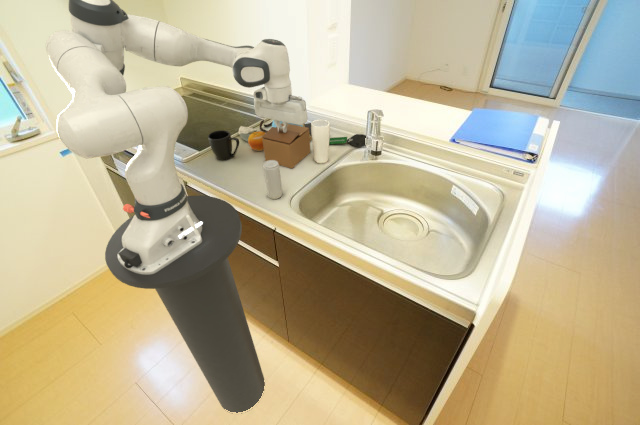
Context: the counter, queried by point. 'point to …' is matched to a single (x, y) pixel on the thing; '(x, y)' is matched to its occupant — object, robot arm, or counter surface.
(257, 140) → the fruit
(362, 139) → the rock
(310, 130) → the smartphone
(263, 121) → the brown curved piece
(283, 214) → the counter surface
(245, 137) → the rock
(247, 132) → the arrowhead
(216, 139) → the mug
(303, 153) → the carton
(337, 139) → the business card
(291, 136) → the flap
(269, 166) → the beverage can
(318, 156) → the drinking glass
